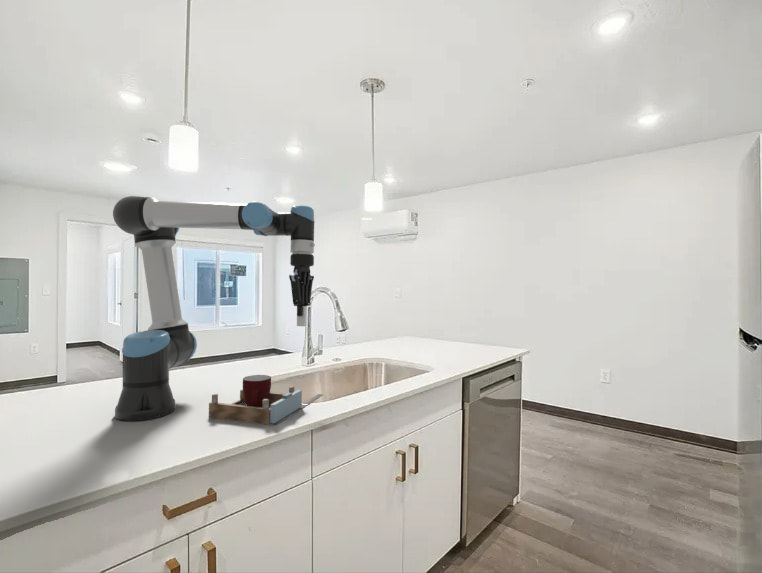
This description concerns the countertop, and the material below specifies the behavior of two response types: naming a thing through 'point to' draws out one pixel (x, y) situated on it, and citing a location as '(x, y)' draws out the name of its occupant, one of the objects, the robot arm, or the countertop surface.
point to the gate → (285, 405)
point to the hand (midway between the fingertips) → (301, 325)
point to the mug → (256, 389)
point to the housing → (250, 409)
